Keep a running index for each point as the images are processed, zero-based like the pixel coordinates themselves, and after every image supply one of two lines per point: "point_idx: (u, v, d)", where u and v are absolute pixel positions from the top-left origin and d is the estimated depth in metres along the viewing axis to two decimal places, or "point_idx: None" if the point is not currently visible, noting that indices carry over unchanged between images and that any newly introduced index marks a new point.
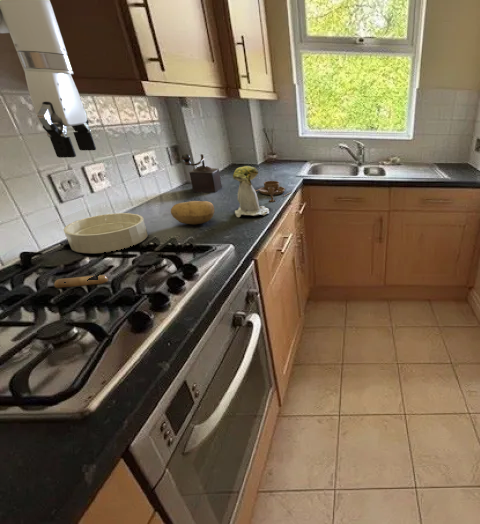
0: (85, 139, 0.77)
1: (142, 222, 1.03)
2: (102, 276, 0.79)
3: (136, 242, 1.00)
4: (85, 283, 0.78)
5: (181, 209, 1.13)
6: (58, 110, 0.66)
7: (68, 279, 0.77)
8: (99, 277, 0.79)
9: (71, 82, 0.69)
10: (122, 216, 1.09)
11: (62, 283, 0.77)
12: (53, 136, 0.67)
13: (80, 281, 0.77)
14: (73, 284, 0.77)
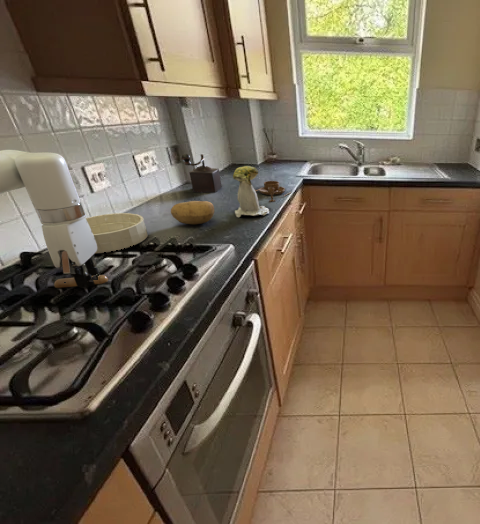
0: (91, 274, 0.80)
1: (142, 222, 1.03)
2: (102, 276, 0.79)
3: (136, 242, 1.00)
4: None
5: (181, 209, 1.13)
6: (72, 255, 0.71)
7: (68, 279, 0.77)
8: (99, 277, 0.79)
9: (83, 222, 0.75)
10: (122, 216, 1.09)
11: (62, 283, 0.77)
12: (76, 276, 0.75)
13: None
14: (73, 284, 0.77)
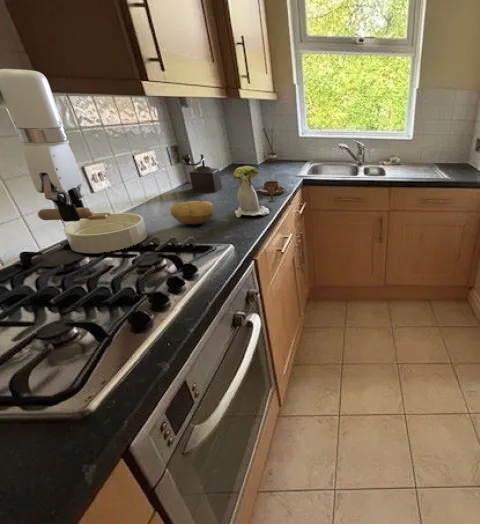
0: (76, 207, 0.78)
1: (142, 222, 1.03)
2: (87, 208, 0.78)
3: (136, 242, 1.00)
4: None
5: (181, 209, 1.13)
6: (54, 179, 0.70)
7: (52, 209, 0.76)
8: (83, 209, 0.77)
9: (67, 150, 0.74)
10: (122, 216, 1.09)
11: (45, 213, 0.75)
12: (59, 205, 0.74)
13: None
14: (57, 214, 0.76)
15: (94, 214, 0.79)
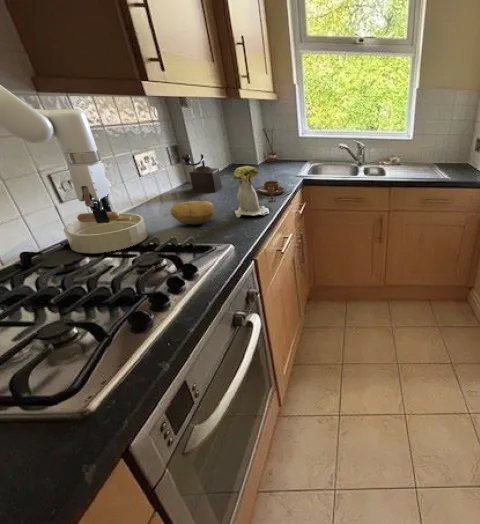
0: (106, 211, 1.00)
1: (142, 222, 1.03)
2: (114, 212, 1.00)
3: (136, 242, 1.00)
4: None
5: (181, 209, 1.13)
6: (91, 191, 0.91)
7: (88, 213, 0.98)
8: (112, 213, 0.99)
9: (99, 167, 0.95)
10: None
11: (83, 216, 0.97)
12: (95, 210, 0.96)
13: None
14: (92, 217, 0.98)
15: (120, 217, 1.01)
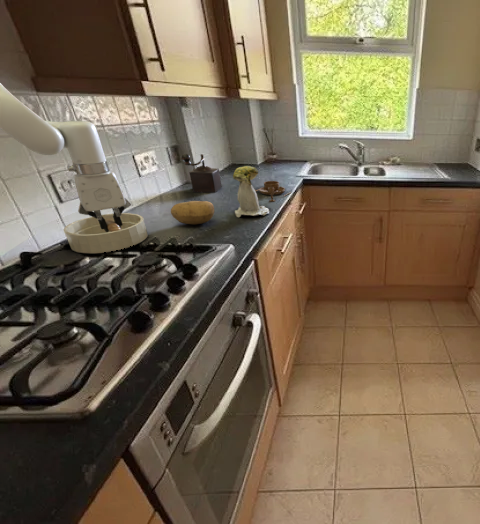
0: None
1: (142, 222, 1.03)
2: None
3: (136, 242, 1.00)
4: None
5: (181, 209, 1.13)
6: None
7: (114, 224, 0.98)
8: (110, 219, 1.02)
9: None
10: (122, 216, 1.09)
11: None
12: None
13: (115, 223, 1.01)
14: None
15: None
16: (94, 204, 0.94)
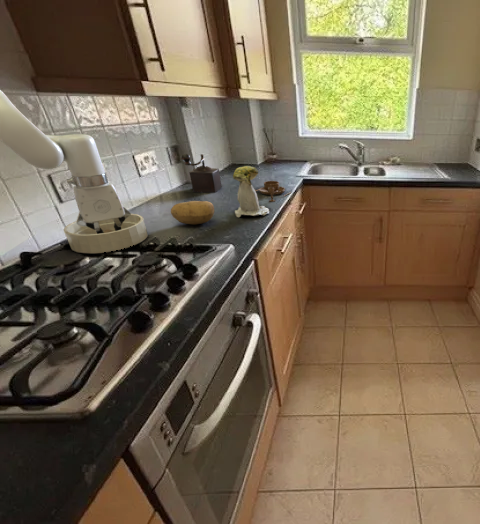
0: None
1: (142, 222, 1.03)
2: None
3: (136, 242, 1.00)
4: None
5: (181, 209, 1.13)
6: None
7: None
8: None
9: None
10: None
11: None
12: None
13: None
14: None
15: None
16: (93, 215, 0.95)
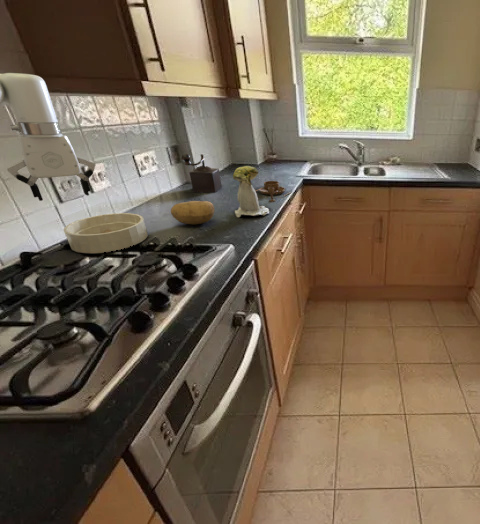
0: None
1: (142, 222, 1.03)
2: None
3: (136, 242, 1.00)
4: None
5: (181, 209, 1.13)
6: None
7: None
8: None
9: None
10: (122, 216, 1.09)
11: None
12: None
13: None
14: None
15: None
16: (42, 170, 0.84)
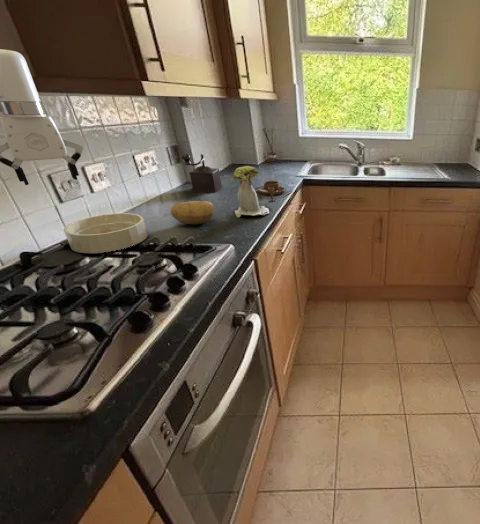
0: None
1: (142, 222, 1.03)
2: None
3: (136, 242, 1.00)
4: None
5: (181, 209, 1.13)
6: None
7: None
8: None
9: None
10: (122, 216, 1.09)
11: None
12: (75, 162, 0.89)
13: None
14: None
15: None
16: (26, 152, 0.80)
